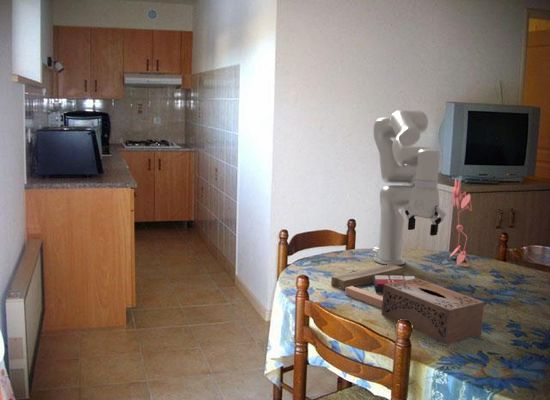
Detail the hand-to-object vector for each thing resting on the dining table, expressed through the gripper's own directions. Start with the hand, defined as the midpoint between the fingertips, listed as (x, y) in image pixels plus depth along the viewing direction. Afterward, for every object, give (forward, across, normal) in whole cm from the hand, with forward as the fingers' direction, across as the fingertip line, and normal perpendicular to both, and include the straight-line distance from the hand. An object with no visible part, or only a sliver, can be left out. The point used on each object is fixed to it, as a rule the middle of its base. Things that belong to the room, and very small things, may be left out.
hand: (422, 232), depth 214 cm
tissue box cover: (+20, +26, -28) cm, 43 cm away
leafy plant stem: (+20, -14, +39) cm, 46 cm away
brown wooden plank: (+20, -15, -10) cm, 27 cm away
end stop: (+20, +1, -28) cm, 34 cm away
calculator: (+20, -2, -10) cm, 23 cm away
